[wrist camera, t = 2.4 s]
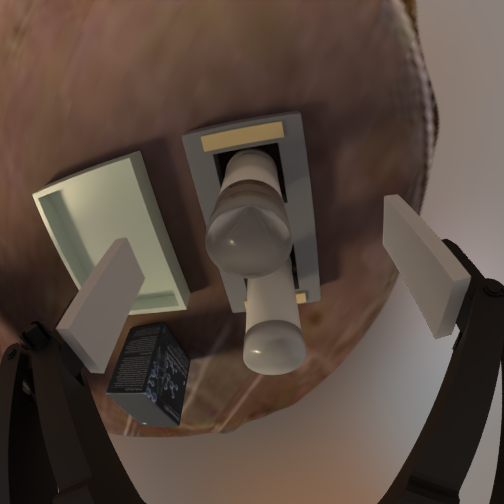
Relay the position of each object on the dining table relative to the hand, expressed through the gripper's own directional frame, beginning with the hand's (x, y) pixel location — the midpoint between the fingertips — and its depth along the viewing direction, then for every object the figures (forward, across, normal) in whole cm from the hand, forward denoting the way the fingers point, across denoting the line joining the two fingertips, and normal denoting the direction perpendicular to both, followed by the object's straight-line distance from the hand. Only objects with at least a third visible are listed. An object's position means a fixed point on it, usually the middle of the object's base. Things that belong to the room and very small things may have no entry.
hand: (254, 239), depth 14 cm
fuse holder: (+12, 0, -5) cm, 13 cm away
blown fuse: (+12, 0, 0) cm, 12 cm away
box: (+12, -16, -20) cm, 29 cm away
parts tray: (+12, -15, -4) cm, 20 cm away
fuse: (+12, 0, -9) cm, 15 cm away
